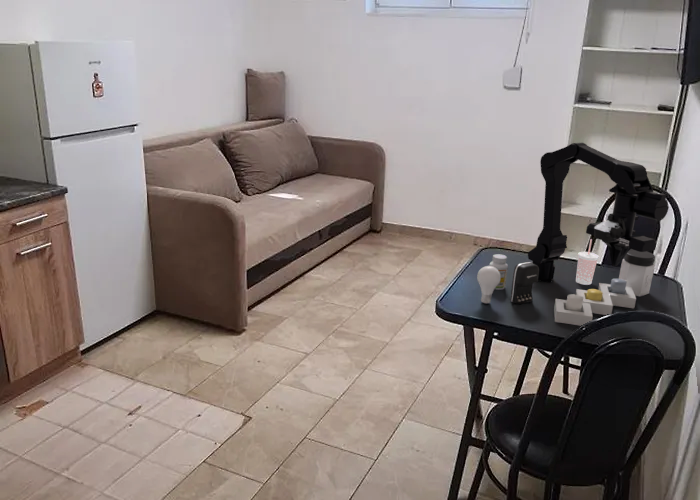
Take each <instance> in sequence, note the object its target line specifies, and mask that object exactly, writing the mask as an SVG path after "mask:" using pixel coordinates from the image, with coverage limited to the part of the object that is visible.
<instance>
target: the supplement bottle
mask: <svg viewBox="0 0 700 500" xmlns="http://www.w3.org/2000/svg"><path fill="white" fill-rule="evenodd" d="M507 259H508V257H507V256H506V255H504V254H501V253H500V254H499V253H498V254H493V255H492V261H490V263H489V265H488V266H493V267H495V268H496V269H498V271H499V272H500V275H501V280H500V283H499V284H498V285H497V286H496V288H495V289H494V291H495V290H497V291H498V290H504V289H505V288H506V282H507V277H508V275H507V274H508V268H509V265H508V263H506V262H507Z"/></svg>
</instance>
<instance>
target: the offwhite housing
mask: <svg viewBox="0 0 700 500" xmlns="http://www.w3.org/2000/svg"><path fill="white" fill-rule="evenodd" d="M566 302H567V299H559V298H555V301H554V306H553V312H554V322H555V323H562V324H569V325H575V326H581V325H583V324H585V323H587V322H589V321H592V322H593V313H592V311H591V306H590V304H589V303H582V309H581V312H577V311H570V310H565V308H566ZM581 327H582V326H581Z"/></svg>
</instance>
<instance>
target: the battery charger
mask: <svg viewBox="0 0 700 500" xmlns="http://www.w3.org/2000/svg"><path fill="white" fill-rule="evenodd" d="M538 275H539V267H538V266H537V265H535V264H533V263H532V261H527V262H520V263H518V264H516V265H515V266H514V269H513V276H512V283H511V293H510V299H509V300H510V302H511V303H514V304H516V305H522V304H528V303H531V302H533V300H534V299H533V293H532V291H533V286H534V284H535V283H538V282H539V281H538Z"/></svg>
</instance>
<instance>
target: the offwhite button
mask: <svg viewBox="0 0 700 500" xmlns="http://www.w3.org/2000/svg"><path fill="white" fill-rule="evenodd" d="M566 297H567V298H566V300H567V302H566V308H565V310H570V311H577V312H581V309H582V303H583V297H582V296H579V295H575V293H573V294H572V293H569V294H567V296H566Z"/></svg>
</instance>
